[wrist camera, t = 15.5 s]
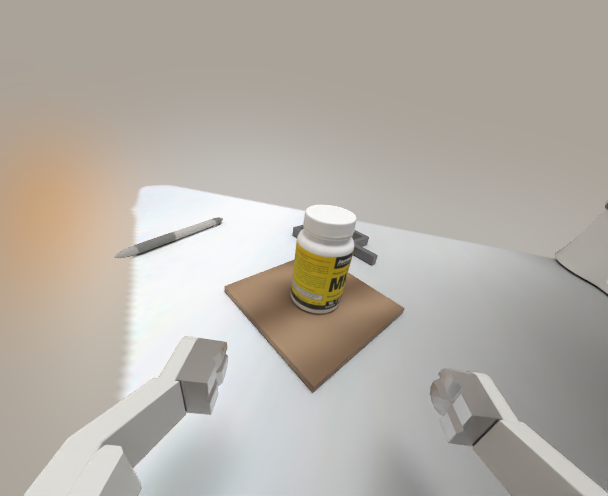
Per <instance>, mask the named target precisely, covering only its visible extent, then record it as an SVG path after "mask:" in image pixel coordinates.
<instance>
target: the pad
mask: <svg viewBox="0 0 608 496" xmlns="http://www.w3.org/2000/svg"><path fill="white" fill-rule="evenodd" d="M294 261H295V260H293V261H290V262H287V263H285V264H282V265H279V266H277V267H274V268H271V269H269V270H266V271H264V272H261V273H258V274H256V275H253V276H250V277H248V278H245V279H242V280H240V281H237V282H235V283H232V284H229V285H227V286H225V292H226V293H227V294H228V296H229V297H230V298H231V299H232V300H233V301H234V302H235V304H236V305H237V306H238V307H239V308H240V309H241V311H242V312H243V313H244V314H245V315H246V316H247V317H248V319H249V320H250V321H251V322H252V323H253V324H254V325H255V327H256V328H257V329H258V330H259V331H260V332H261V334H262V335H263V336H264V337H265V338H266V339H267V340H268V342H269V343H270V344H271V345H272V346H273V347H274V348H275V350H276V351H277V352H278V353H279V354H280V355H281V357H282V358H283V359H284V360H285V361H286V362H287V363H288V365H289V366H290V367H291V368H292V369H293V370H294V371H295V373H296V374H297V375H298V376H299V377H300V378H301V380H302V381H303V382H304V383H305V384H306V385H307V386H308V388H309V389H310V390H311V391H312V392H314V391H315V390H316V389H317V388H318V387H319V386H321V385H322V384H323V383H324V382H325V381H326V380H327V379H328V378H330V377H331V376H332V375H333V374H334V373H335V372H336V371H337V370H339V369H340V368H341V367H342V366H343V365H344V364H345V363H346V362H348V361H349V360H350V359H351V358H352V357H353V356H354V355H356V354H357V353H358V352H359V351H360V350H361V349H362V348H363V347H365V346H366V345H367V344H368V343H369V342H370V341H371V340H372V339H374V338H375V337H376V336H377V335H378V334H379V333H380V332H382V331H383V330H384V329H385V328H386V327H387V326H388V325H389V324H391V323H392V322H393V321H394V320H395V319H396V318H397V317H398V316H400V315H401V314H402V313H403V310H404V308H403V307H401V306H400V305H398V304H397V303H395V302H394V301H392V300H390V299H389V298H387V297H386V296H384V295H383V294H381V293H379V292H378V291H376V290H375V289H373V288H372V287H370V286H368V285H367V284H365V283H364V282H362V281H361V280H359V279H357V278H356V277H354V276H353V275H351V274H350V273H348V274H347V278H346V281H345V285H344V289H343V293H342V297H341V300H340V303H339V305H338V306H337V308H336V309H334V310H333V311H331V312H328V313H322V314H318V313H311V312H308V311H305V310H303V309H301V308H300V307H298V306H297V305H296V304H295V303H294V302H293V300H292V298H291V285H292V277H293V269H294Z"/></svg>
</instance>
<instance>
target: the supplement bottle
mask: <svg viewBox="0 0 608 496" xmlns="http://www.w3.org/2000/svg"><path fill="white" fill-rule="evenodd" d="M355 224H356V216H355V215H354V214H353V213H352V212H350V211H348V210H346V209H344V208H340V207H336V206H330V205H314V206H310V207H308V208H307V209H306V211H305V217H304V225H303V227H304V229H302V230H301V231H300V233H299V234H298V237H297V244H296V253H295V261H294V269H293V277H292V285H291V298H292V300H293V302H294V303H295V304H296V305H297V306H298V307H300V308H301V309H303V310H305V311H308V312H311V313H318V314H322V313H328V312H331V311H333V310H334V309H336V308H337V306H338V305H339V303H340V300H341V297H342V293H343V289H344V285H345V281H346V278H347V274H348V270H349V266H350V262H351V258H352V255H353V250H354V241H353V239H352V236H353V233H354V229H355Z"/></svg>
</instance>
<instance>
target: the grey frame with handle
mask: <svg viewBox="0 0 608 496" xmlns="http://www.w3.org/2000/svg"><path fill="white" fill-rule="evenodd" d="M302 229H304V227H303V225H301V226H297V227H293V236H295V237H296V238H297V237H298V234H299V233H300V231H301V230H302ZM352 239H353V241H354V250H353V255H354V256H356V257H358V258H360V259H361V260H363V261H365V262H367V263H368V264H370V265H373V264H375V262H376V259H377V256H378V255H376V254H374V253H372V252H370V251H369V250H367V249H365V248H363V247H362V246H365V245H367V243H368V239H369V237H368V236H366V235H364V234H362V233H360V232H358V231H356V230H354V233H353V236H352Z"/></svg>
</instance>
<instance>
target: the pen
mask: <svg viewBox="0 0 608 496" xmlns="http://www.w3.org/2000/svg"><path fill="white" fill-rule="evenodd" d="M222 220H223V218H213V219H211V220H208V221H205V222H202V223H199V224H196V225H193V226H190V227H187V228H184V229H181V230H179V231H175V232H172V233H169V234H166V235H163V236H160V237H157V238H154V239H151V240H148V241H145V242H142V243H139V244H137V245H134V246H132V247H129V248H128V249H125V250H123V251H121V252H120V253H118V254H117V255H116V256H115V258H125V257H129V256H133V255H136V254H140V253H143V252H145V251H148V250H151V249H153V248H156V247H159V246H161V245H164V244H167V243H169V242H172V241H175V240H177V239H179V238H182V237H184V236H187V235H193V233H195V232H198V231H201V230H203V229H206V228H209V227H211V226H212V228H214V227H216V226H218V225H219V223H220V222H221V221H222Z"/></svg>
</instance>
